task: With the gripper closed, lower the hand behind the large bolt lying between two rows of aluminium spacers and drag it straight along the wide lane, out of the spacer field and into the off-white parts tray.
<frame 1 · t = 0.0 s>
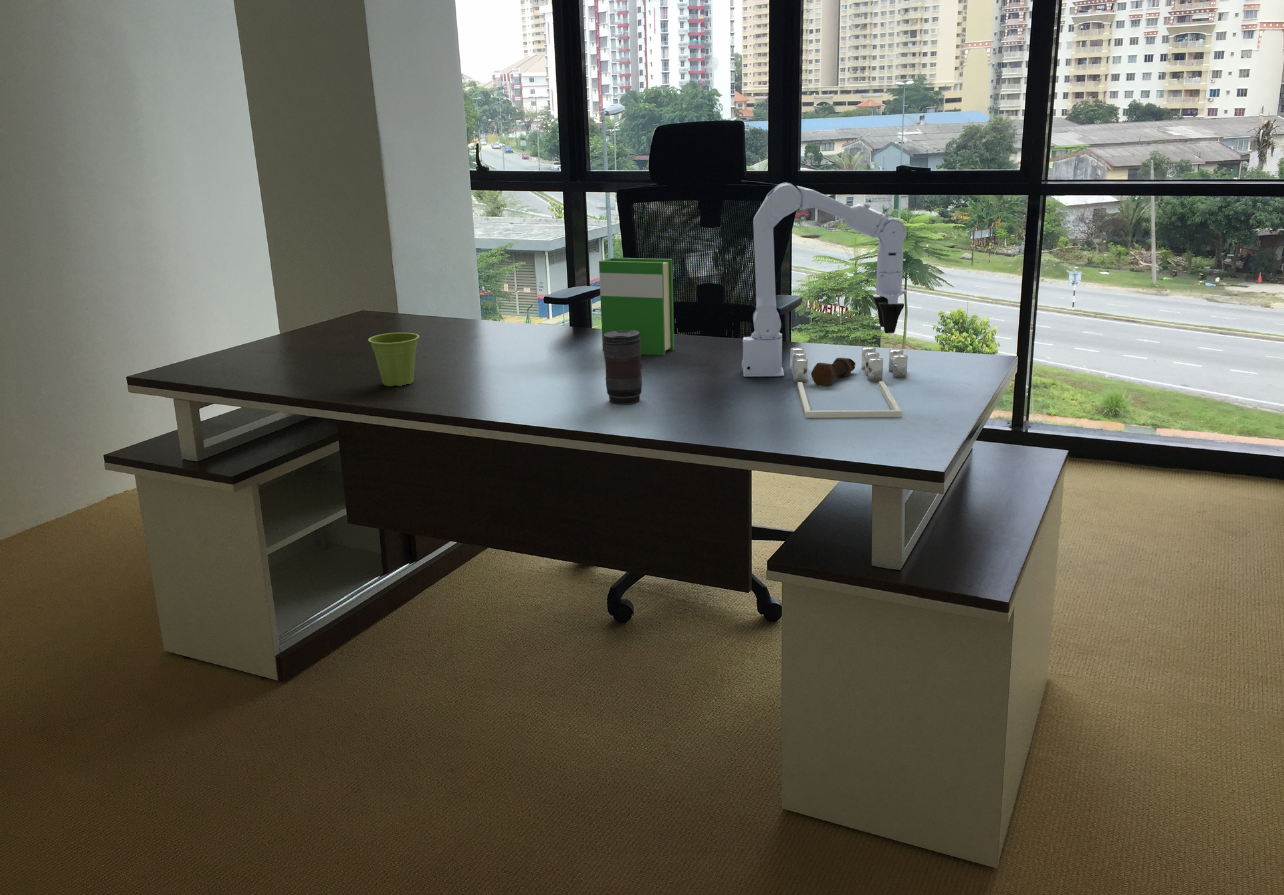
hand: (887, 329, 239), 10 cm above the table, tool pointing down, fingers open, 7 cm apart
camera lens: (624, 401, 224), on the table
spacer field: (835, 375, 240), on the table
plant pot: (398, 384, 246), on the table
hardback book: (638, 351, 274), on the table
tray rim: (846, 400, 219), on the table
bolt: (836, 380, 238), on the table
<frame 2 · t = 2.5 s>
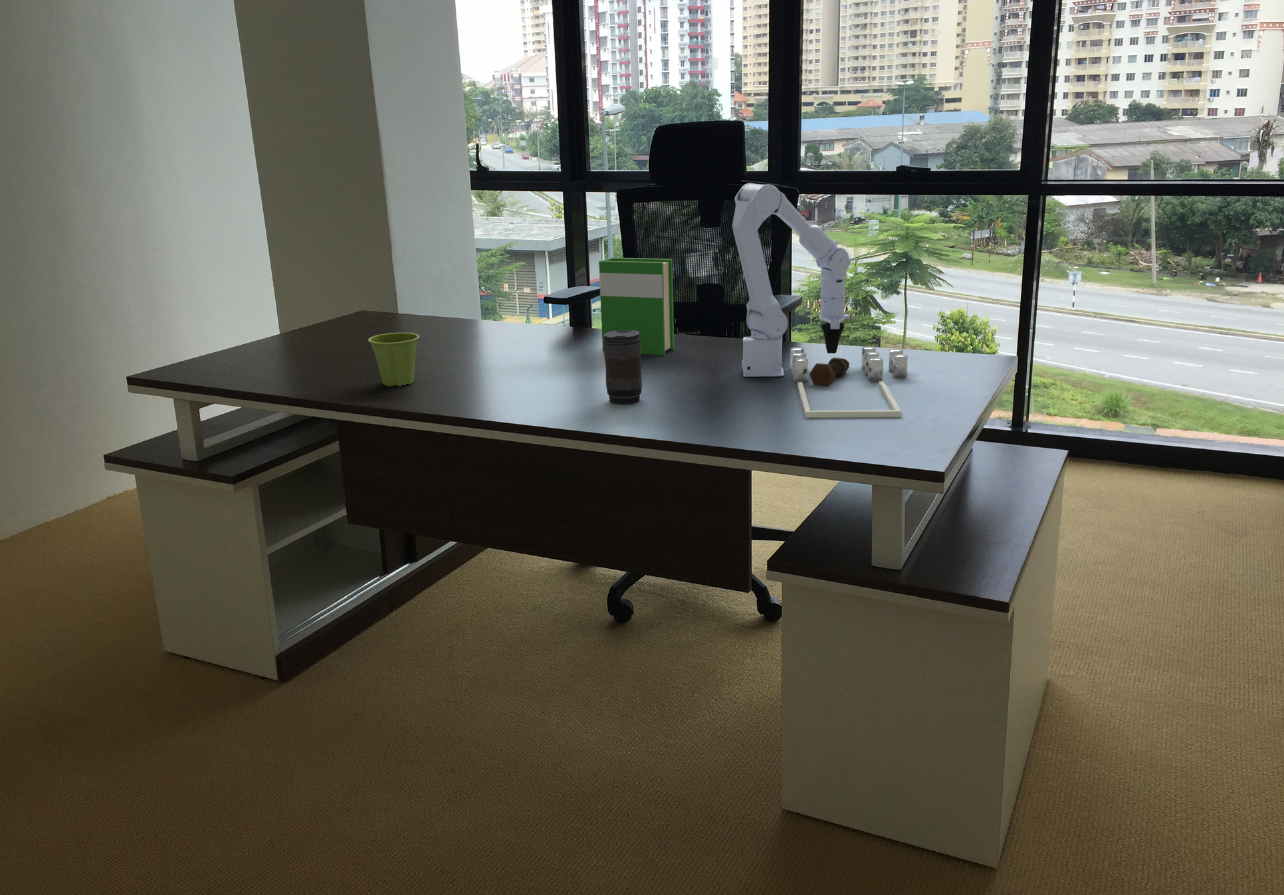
hand: (831, 352, 250), 3 cm above the table, tool pointing down, fingers closed
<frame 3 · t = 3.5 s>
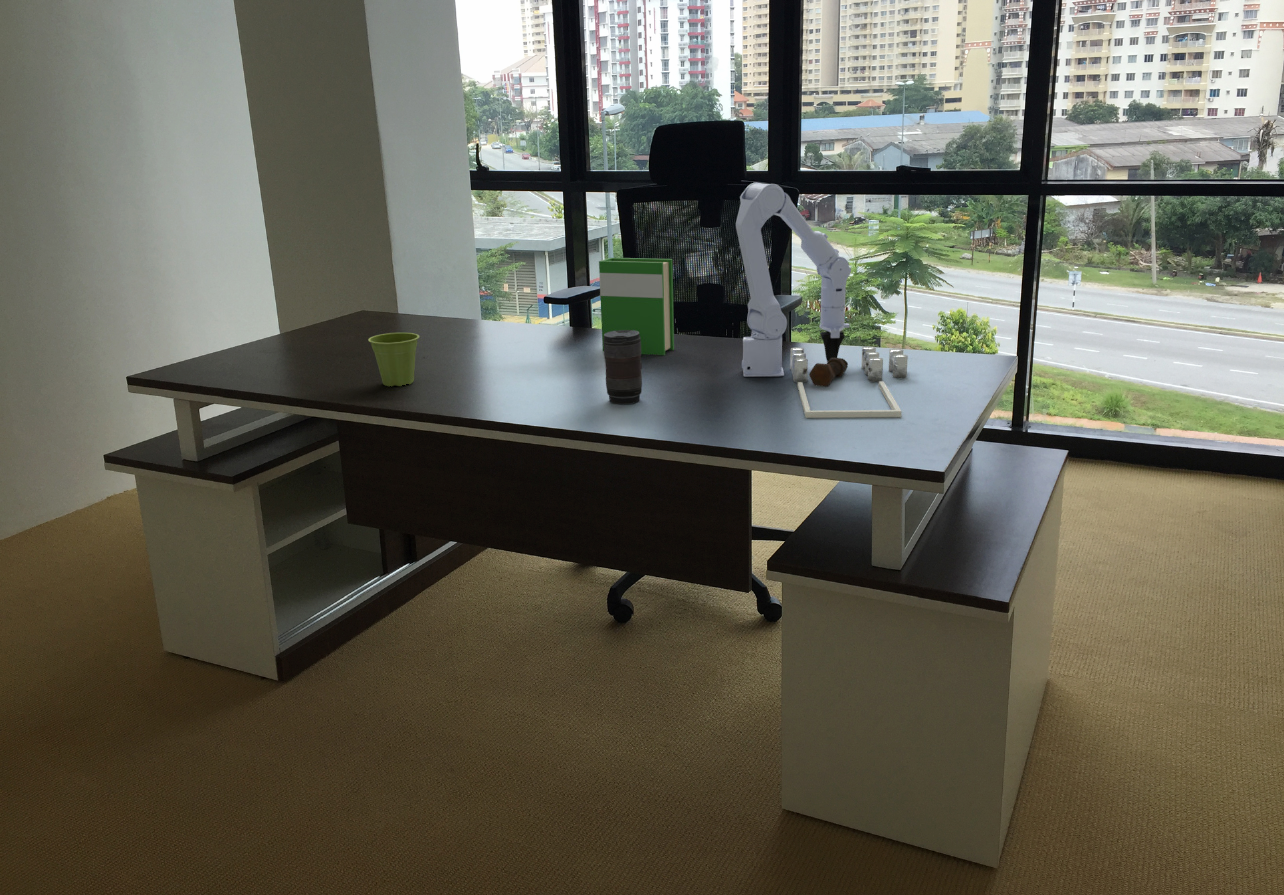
hand: (831, 361, 249), 1 cm above the table, tool pointing down, fingers closed
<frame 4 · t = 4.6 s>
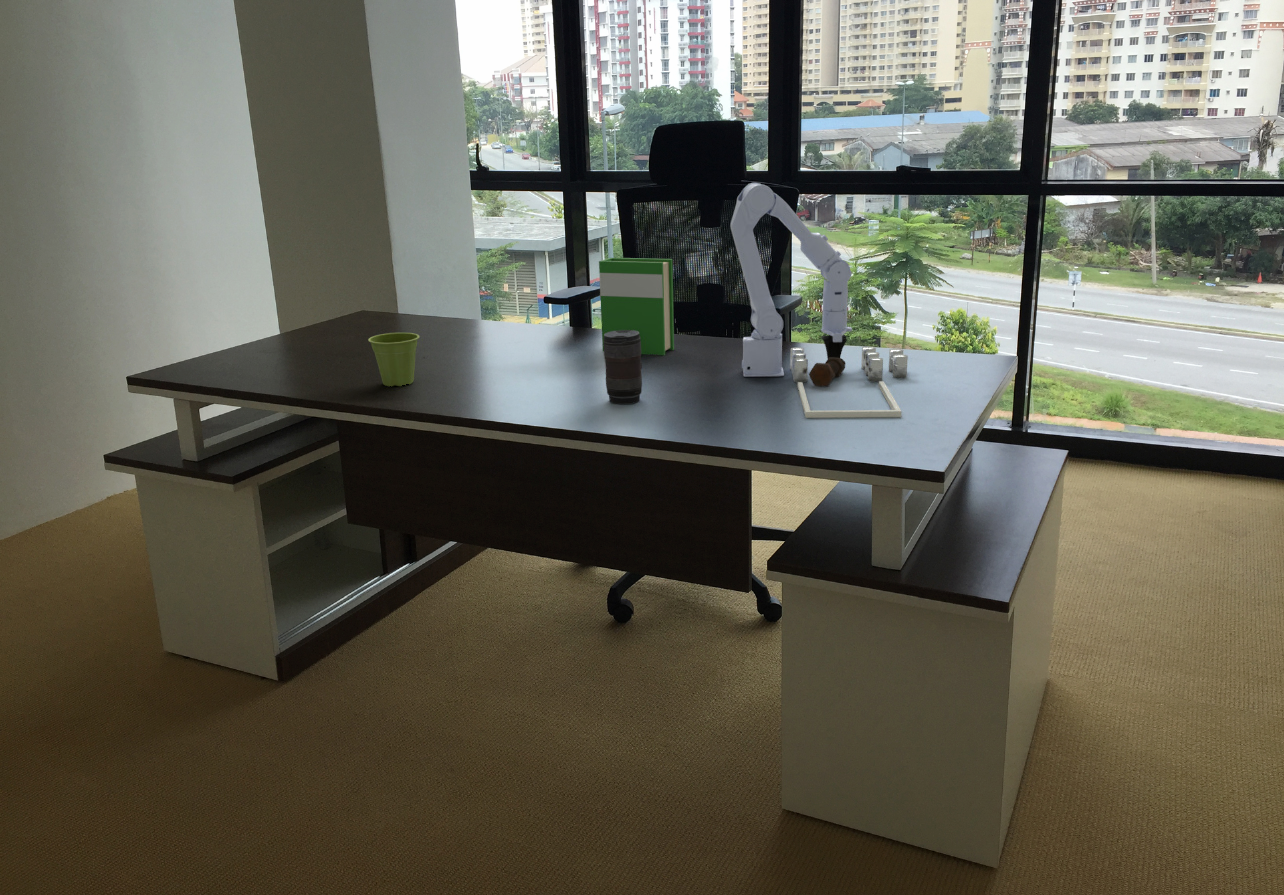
hand: (833, 366, 245), 1 cm above the table, tool pointing down, fingers closed
bolt: (830, 380, 237), on the table, touching gripper
everything else where it was.
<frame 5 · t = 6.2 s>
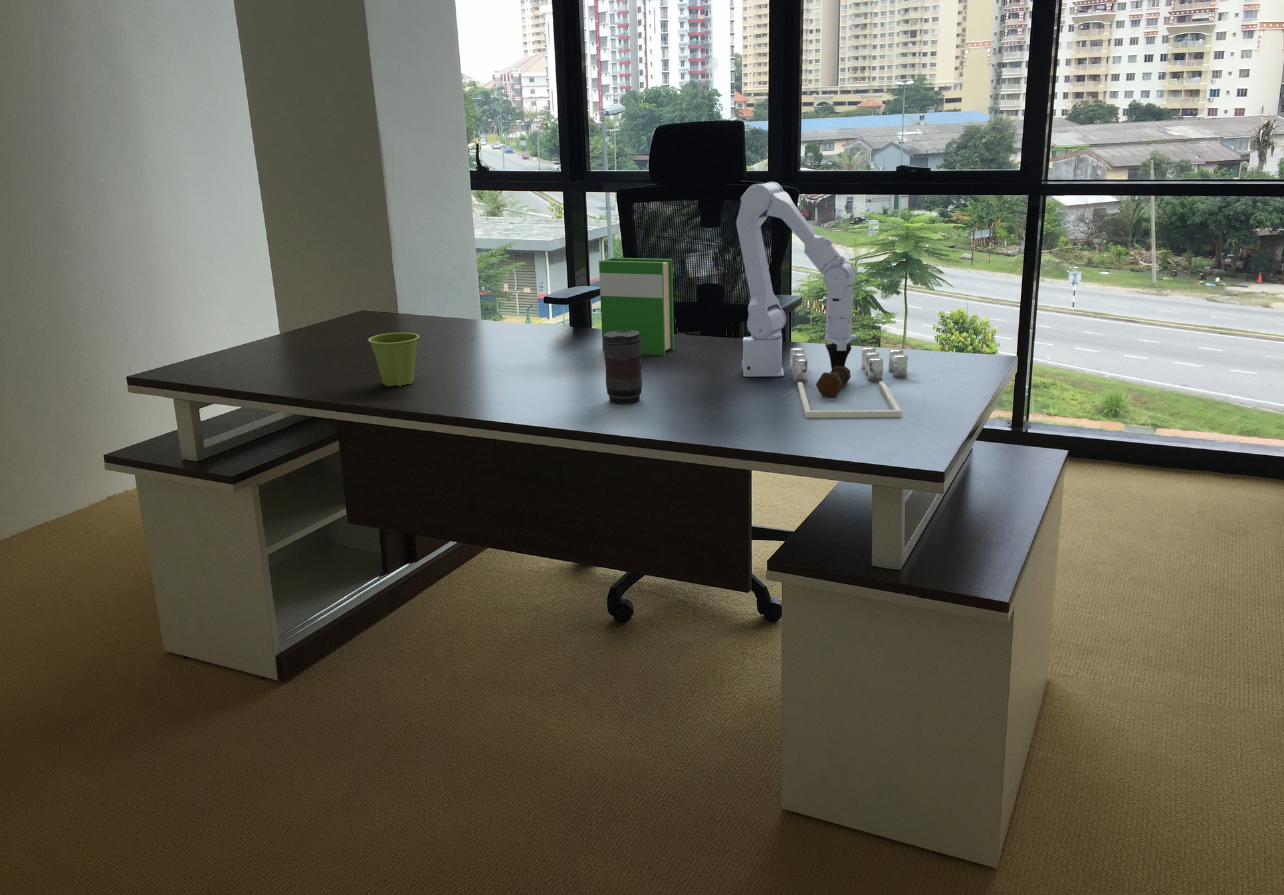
hand: (837, 375, 236), 1 cm above the table, tool pointing down, fingers closed
bolt: (836, 389, 228), on the table, touching gripper
everything else where it was.
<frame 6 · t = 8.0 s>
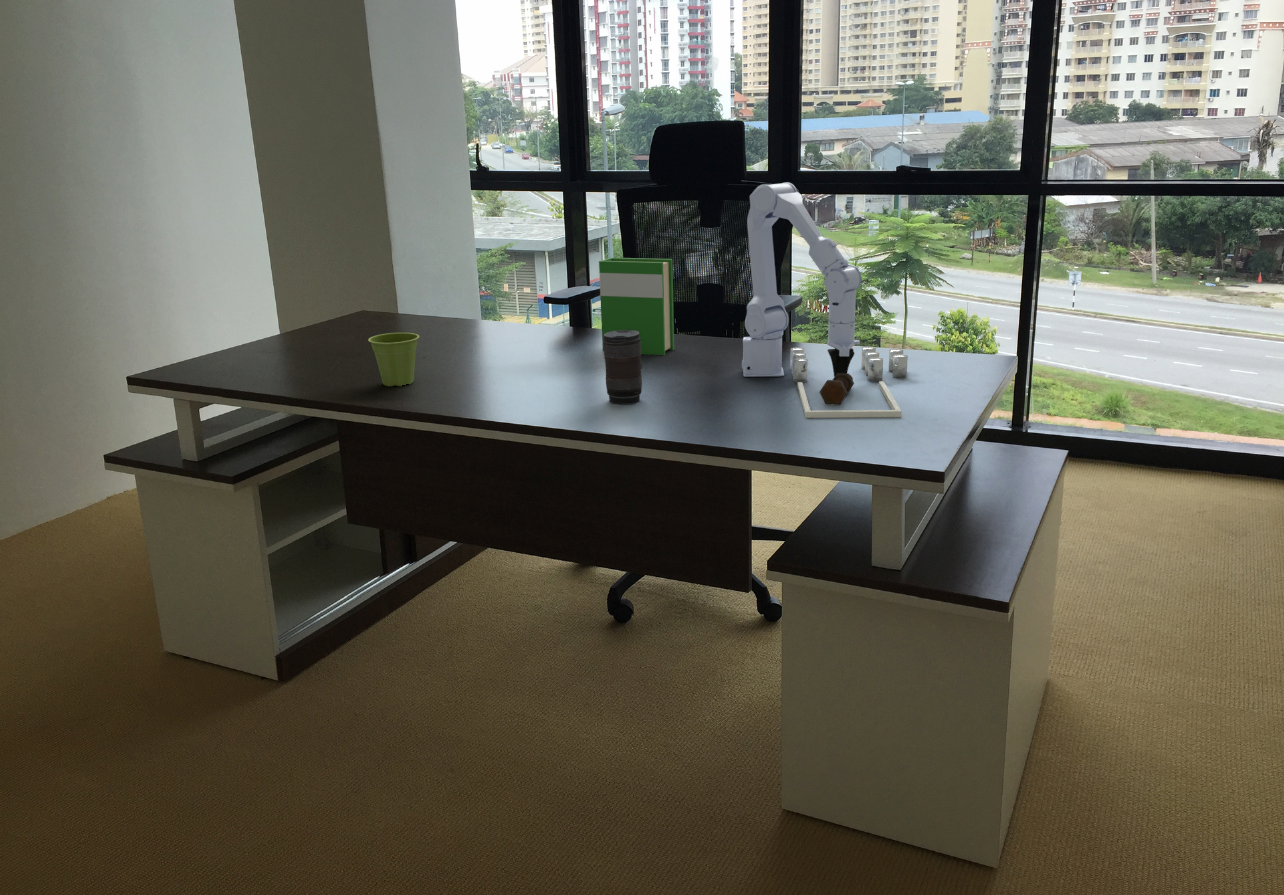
hand: (839, 381, 231), 1 cm above the table, tool pointing down, fingers closed
bolt: (839, 397, 223), on the table
everything else where it was.
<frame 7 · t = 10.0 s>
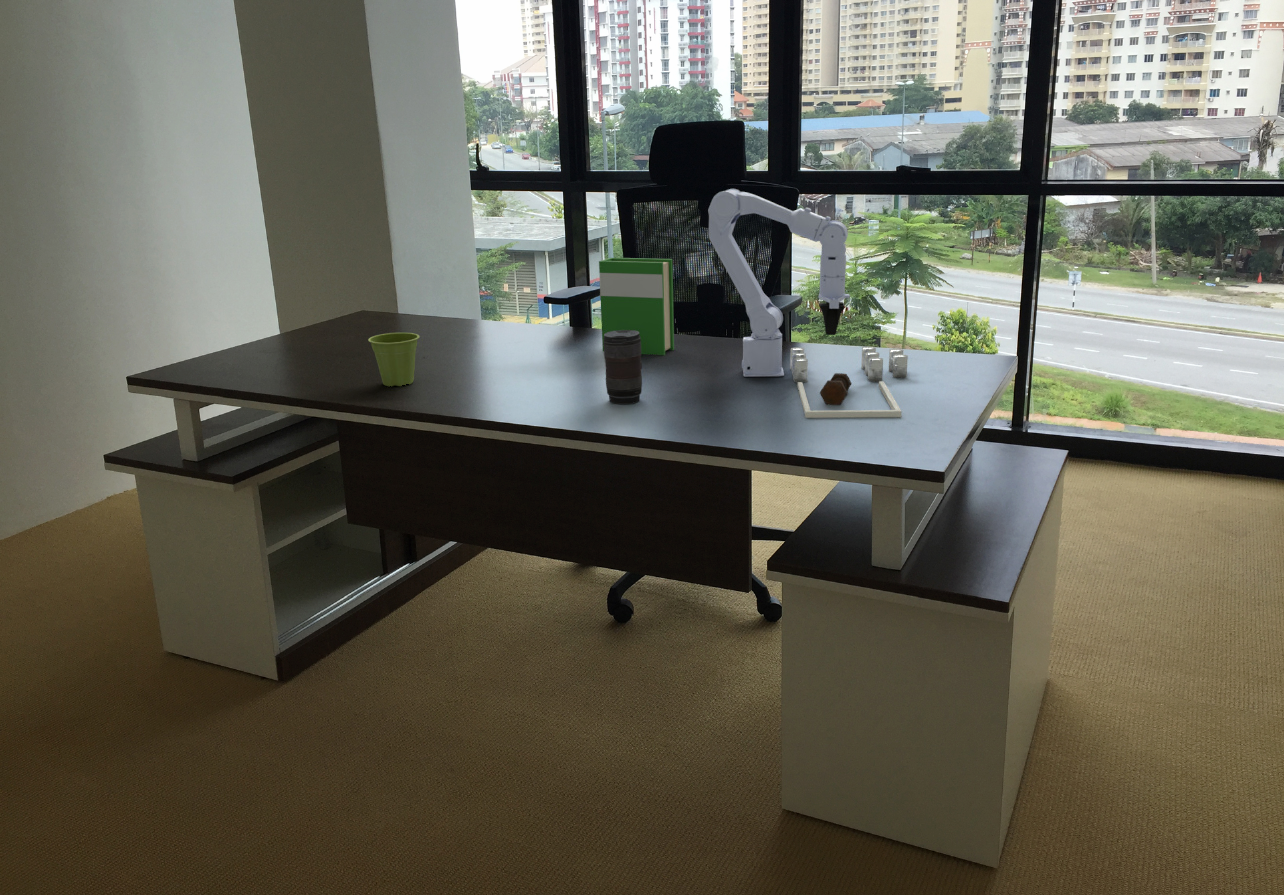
hand: (830, 334, 238), 10 cm above the table, tool pointing down, fingers closed
nothing on the table moved.
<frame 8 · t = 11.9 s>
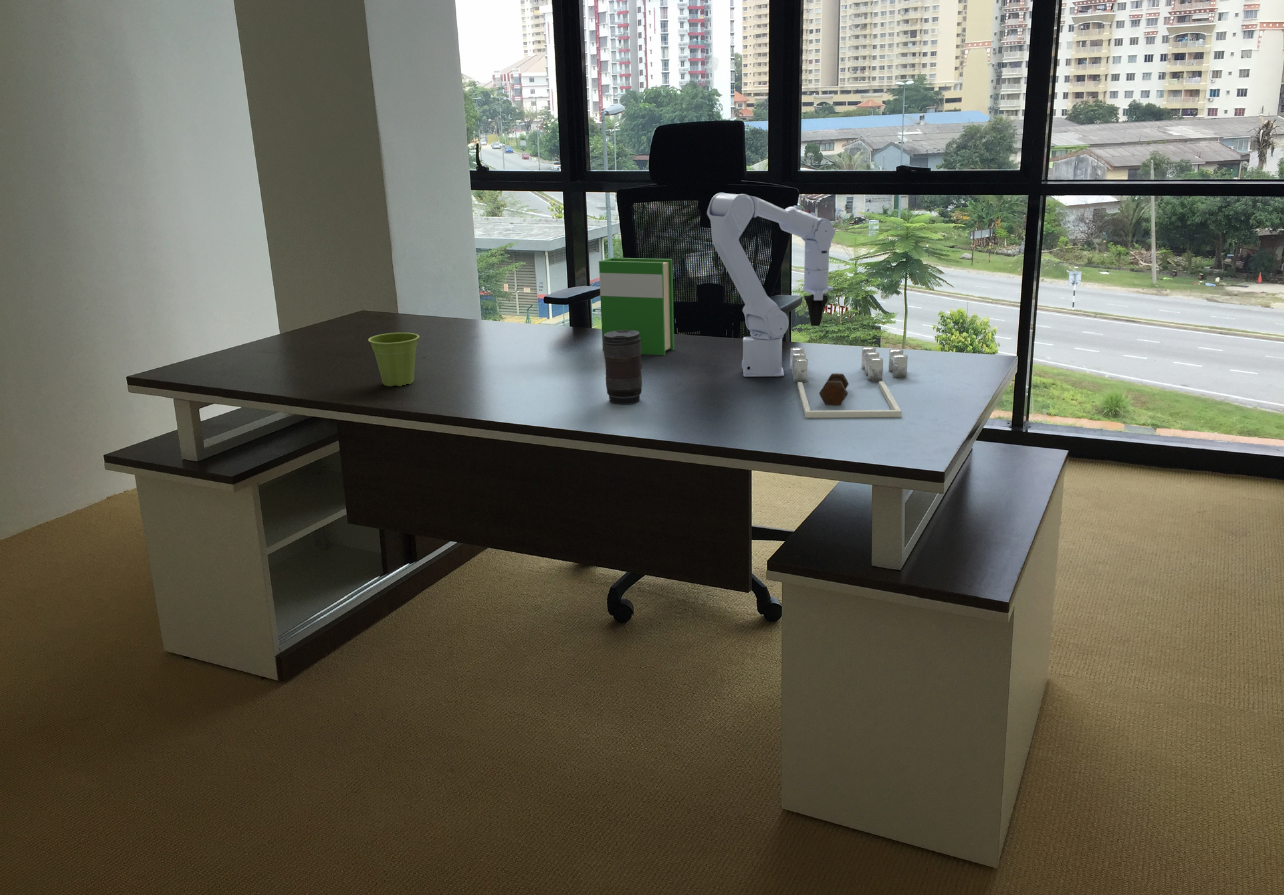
hand: (815, 325, 248), 10 cm above the table, tool pointing down, fingers closed
nothing on the table moved.
at the end: bolt inside the target area (4.3 cm from its centre), on the table; bolt moved 16.1 cm from its start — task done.
